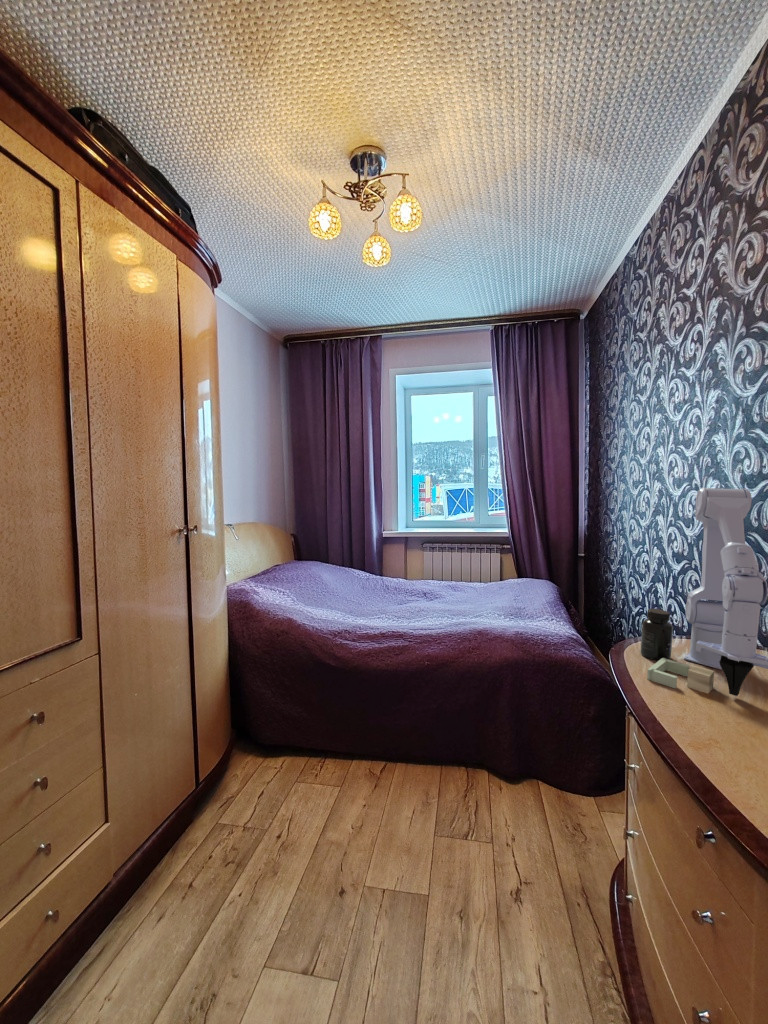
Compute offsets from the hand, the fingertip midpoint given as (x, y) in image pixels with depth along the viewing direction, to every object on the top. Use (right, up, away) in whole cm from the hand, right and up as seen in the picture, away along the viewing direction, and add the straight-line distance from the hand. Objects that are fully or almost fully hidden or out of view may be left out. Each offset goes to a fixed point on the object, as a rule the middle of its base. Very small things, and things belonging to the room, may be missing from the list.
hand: (734, 693), depth 95 cm
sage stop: (-8, 0, +9) cm, 12 cm away
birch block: (-4, -1, +5) cm, 6 cm away
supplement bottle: (-4, +1, +21) cm, 22 cm away
